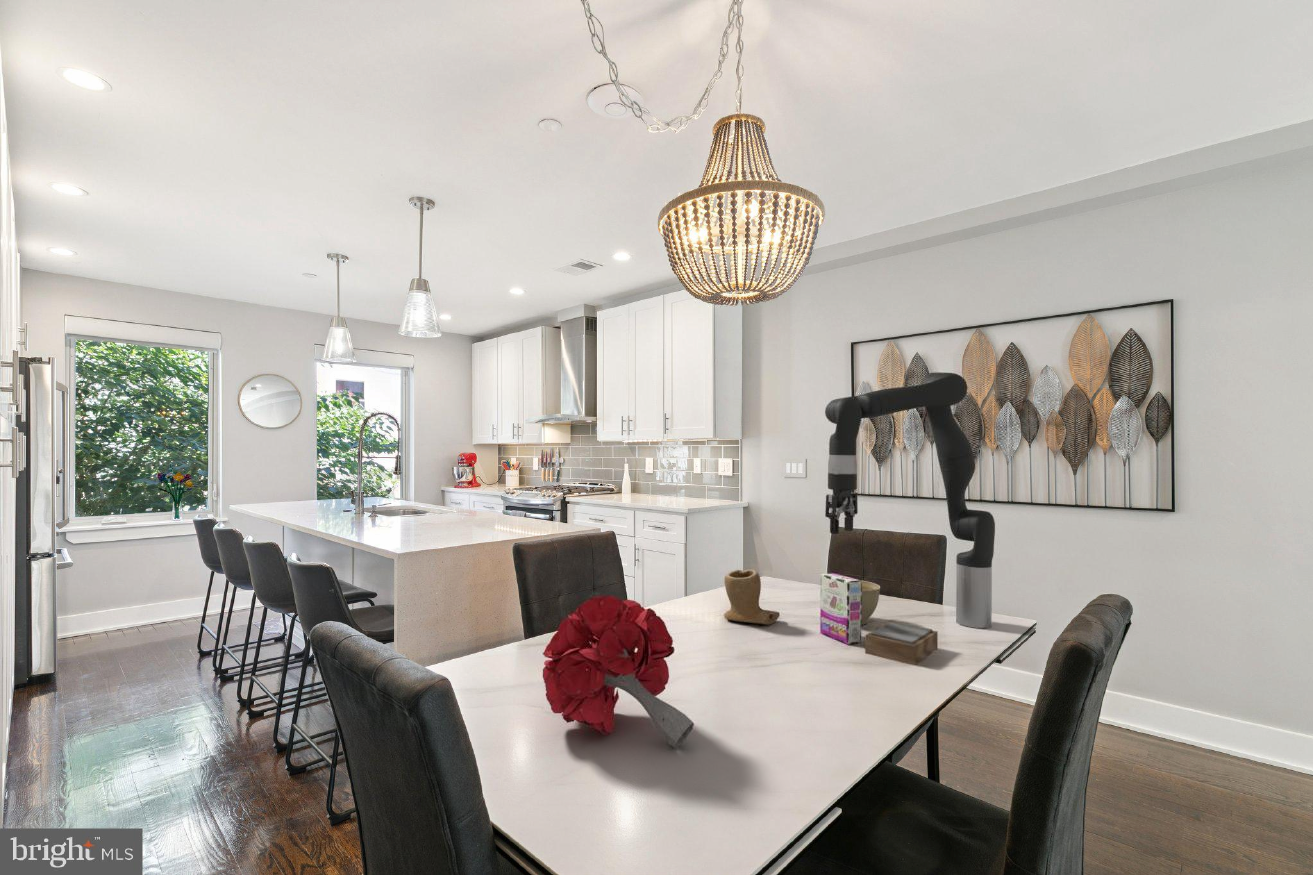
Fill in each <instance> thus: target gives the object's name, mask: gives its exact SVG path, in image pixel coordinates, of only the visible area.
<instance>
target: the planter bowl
mask: <svg viewBox="0 0 1313 875" xmlns="http://www.w3.org/2000/svg"><path fill="white" fill-rule="evenodd" d="M861 581H862V608H861V626H862V625H863V626H864V625H867V624H868V623H869V620H870V618H871V617H872V615H873V614H874V612H875V611H876V608H877V607H878V603H879V599H880V591H881V586H880V584H877V583H874V582H871V581H868V580H867V581H866V580H861Z"/></svg>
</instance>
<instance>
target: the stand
mask: <svg viewBox="0 0 1313 875" xmlns="http://www.w3.org/2000/svg"><path fill="white" fill-rule="evenodd" d="M938 632H939V631H936V630H933V628H928V627H923V626H917V625H912V624H907V623H903V622H897V621H890V622H888V623H887V624H884V625H882V626H879V627H878V628H877V629H874V630H872V631H871V632H868V633H866V634H865V635H864V636H865V639H864V640H865V643H864V644H865V647H864V648H865V650H864V651H865V654H867V655H872V656H875V657H880V658H883V659H887V660H892V661H895V662H898V663H899V662H900V663H903V664H908V665H912V666H915V665H917V664H918V663H920V662H921V661H923V660H924V659H926V658H927V657H929V656H930V655H931V654H933V653H935V651H937V650H938V648H939V647H938V646H939V644H938V642H939V641H938V640H939V638H938V637H939V634H938Z"/></svg>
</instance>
